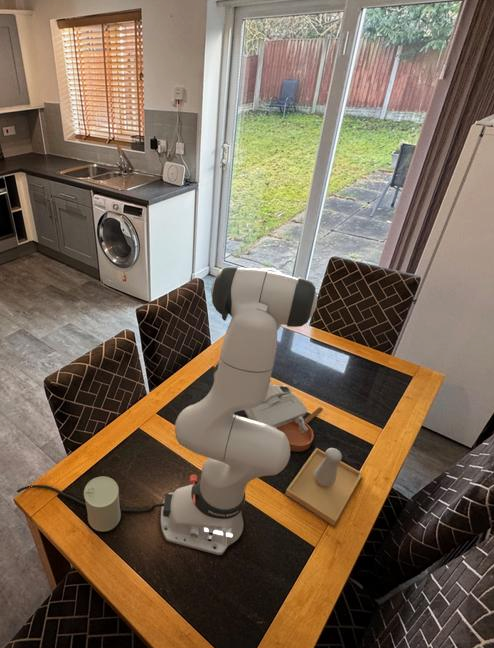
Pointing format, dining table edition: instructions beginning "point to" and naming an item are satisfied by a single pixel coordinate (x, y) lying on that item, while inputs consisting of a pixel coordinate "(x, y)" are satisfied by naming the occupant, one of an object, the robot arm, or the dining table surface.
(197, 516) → the robot arm
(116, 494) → the can
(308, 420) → the pan handle
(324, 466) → the salt shaker
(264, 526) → the dining table surface
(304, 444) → the pan
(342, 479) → the tray
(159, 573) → the dining table surface
